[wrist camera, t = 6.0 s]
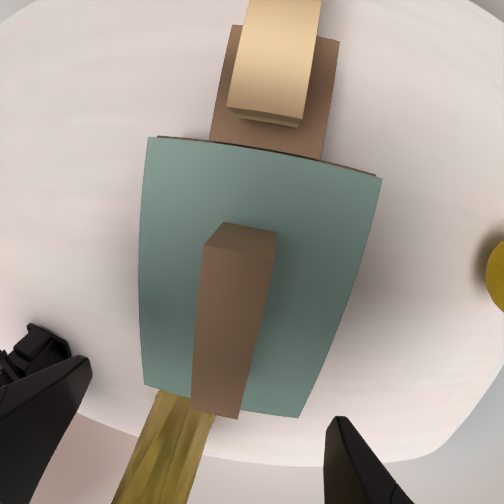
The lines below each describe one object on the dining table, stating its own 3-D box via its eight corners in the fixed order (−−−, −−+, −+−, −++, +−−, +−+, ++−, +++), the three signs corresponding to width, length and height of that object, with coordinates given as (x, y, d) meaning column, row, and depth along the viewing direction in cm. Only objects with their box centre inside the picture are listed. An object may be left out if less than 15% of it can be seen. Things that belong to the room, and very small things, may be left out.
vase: (163, 377, 23) (99, 508, 10) (224, 403, 23) (190, 542, 10) (151, 408, 25) (101, 517, 12) (204, 431, 25) (171, 545, 12)
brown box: (297, 375, 21) (298, 416, 17) (165, 347, 22) (144, 382, 18) (373, 80, 14) (399, 60, 10) (197, 51, 14) (173, 24, 10)
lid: (297, 400, 19) (298, 458, 14) (153, 368, 19) (125, 419, 14) (371, 175, 13) (415, 187, 8) (163, 138, 14) (108, 134, 9)
